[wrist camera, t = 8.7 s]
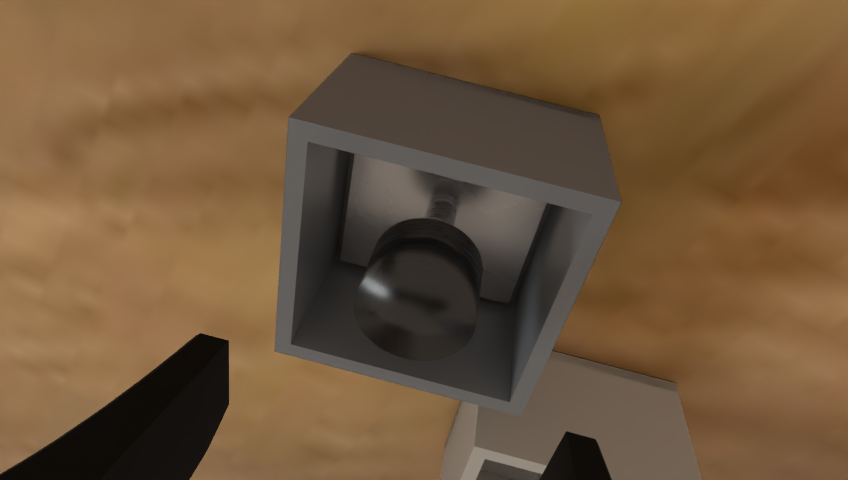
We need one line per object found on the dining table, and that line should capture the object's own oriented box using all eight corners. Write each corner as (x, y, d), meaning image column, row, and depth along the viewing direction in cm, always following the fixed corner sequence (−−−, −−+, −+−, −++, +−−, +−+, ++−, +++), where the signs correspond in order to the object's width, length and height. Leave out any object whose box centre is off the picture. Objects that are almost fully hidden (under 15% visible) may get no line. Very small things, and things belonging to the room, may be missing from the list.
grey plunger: (566, 140, 18) (578, 248, 13) (509, 293, 21) (500, 424, 16) (367, 89, 18) (302, 177, 13) (344, 251, 21) (287, 367, 16)
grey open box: (599, 115, 18) (621, 201, 13) (523, 303, 22) (520, 416, 18) (351, 52, 18) (288, 117, 13) (327, 252, 22) (274, 351, 18)
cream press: (675, 383, 23) (709, 509, 19) (602, 490, 28) (615, 612, 23) (486, 333, 23) (474, 446, 19) (444, 447, 28) (427, 560, 23)
